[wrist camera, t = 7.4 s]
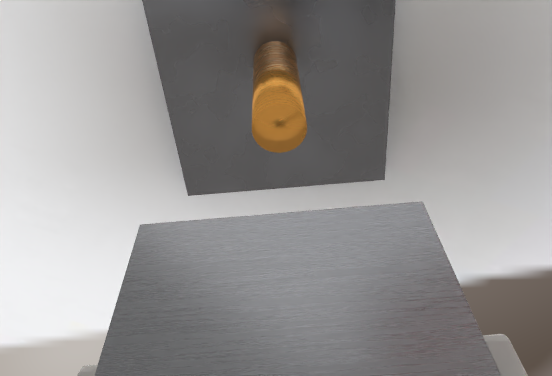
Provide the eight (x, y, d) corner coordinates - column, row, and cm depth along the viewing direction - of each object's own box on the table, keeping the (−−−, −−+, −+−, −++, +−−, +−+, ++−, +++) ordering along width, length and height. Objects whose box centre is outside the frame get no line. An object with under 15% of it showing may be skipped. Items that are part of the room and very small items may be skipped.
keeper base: (397, -137, 21) (458, -123, 15) (381, 170, 30) (413, 261, 24) (122, -110, 21) (63, -84, 15) (190, 186, 31) (171, 280, 24)
